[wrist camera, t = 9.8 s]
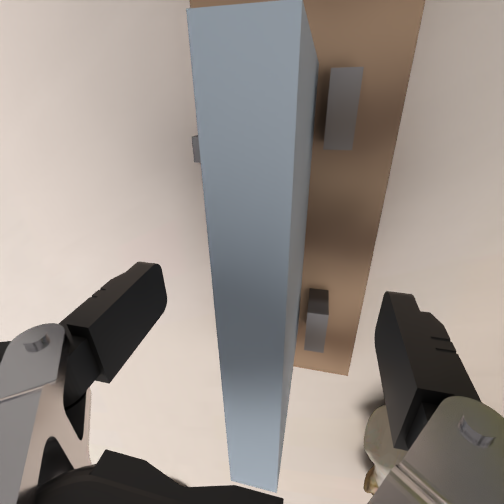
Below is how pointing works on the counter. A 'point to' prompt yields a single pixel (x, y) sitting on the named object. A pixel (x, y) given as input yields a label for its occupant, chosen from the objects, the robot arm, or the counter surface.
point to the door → (255, 209)
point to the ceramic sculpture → (380, 449)
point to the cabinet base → (348, 161)
